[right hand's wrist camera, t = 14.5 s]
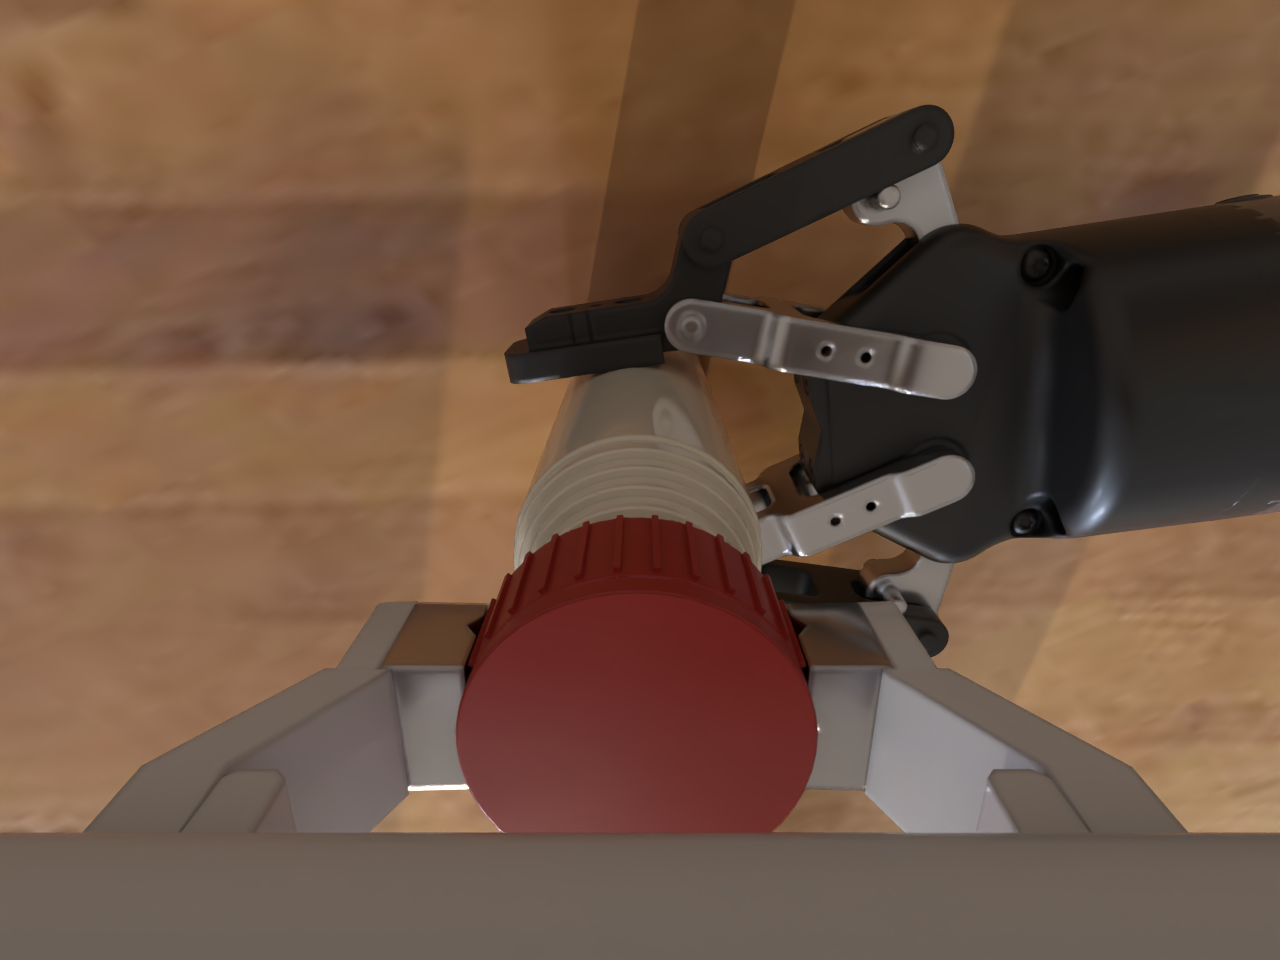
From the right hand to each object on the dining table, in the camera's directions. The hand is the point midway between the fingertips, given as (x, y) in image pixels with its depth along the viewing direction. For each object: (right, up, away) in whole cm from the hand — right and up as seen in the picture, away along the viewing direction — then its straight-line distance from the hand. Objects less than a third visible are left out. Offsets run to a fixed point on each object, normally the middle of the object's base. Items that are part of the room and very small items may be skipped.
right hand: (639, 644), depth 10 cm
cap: (0, -1, -2) cm, 2 cm away
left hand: (-3, +3, +9) cm, 9 cm away
